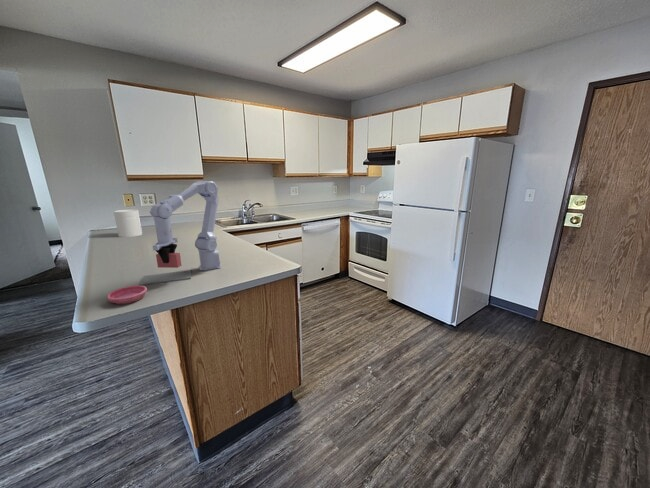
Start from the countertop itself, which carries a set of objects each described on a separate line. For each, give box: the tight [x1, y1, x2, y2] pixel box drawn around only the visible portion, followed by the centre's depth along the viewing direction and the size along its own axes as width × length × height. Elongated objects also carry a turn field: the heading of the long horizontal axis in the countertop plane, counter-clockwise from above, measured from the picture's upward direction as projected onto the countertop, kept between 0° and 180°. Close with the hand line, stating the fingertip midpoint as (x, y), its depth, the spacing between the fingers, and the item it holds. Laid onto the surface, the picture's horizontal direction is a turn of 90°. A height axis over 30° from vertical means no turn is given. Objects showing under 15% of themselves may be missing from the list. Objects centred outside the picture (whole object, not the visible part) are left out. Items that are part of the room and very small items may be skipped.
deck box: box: [155, 252, 182, 269], centre depth 118 cm, size 3×9×6 cm, turn 89°
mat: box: [138, 269, 192, 286], centre depth 123 cm, size 20×12×1 cm, turn 114°
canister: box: [113, 209, 143, 238], centre depth 213 cm, size 16×16×20 cm
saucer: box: [106, 284, 148, 305], centre depth 102 cm, size 12×12×3 cm
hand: (168, 261), depth 118 cm, fingers closed on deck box, 3 cm apart
